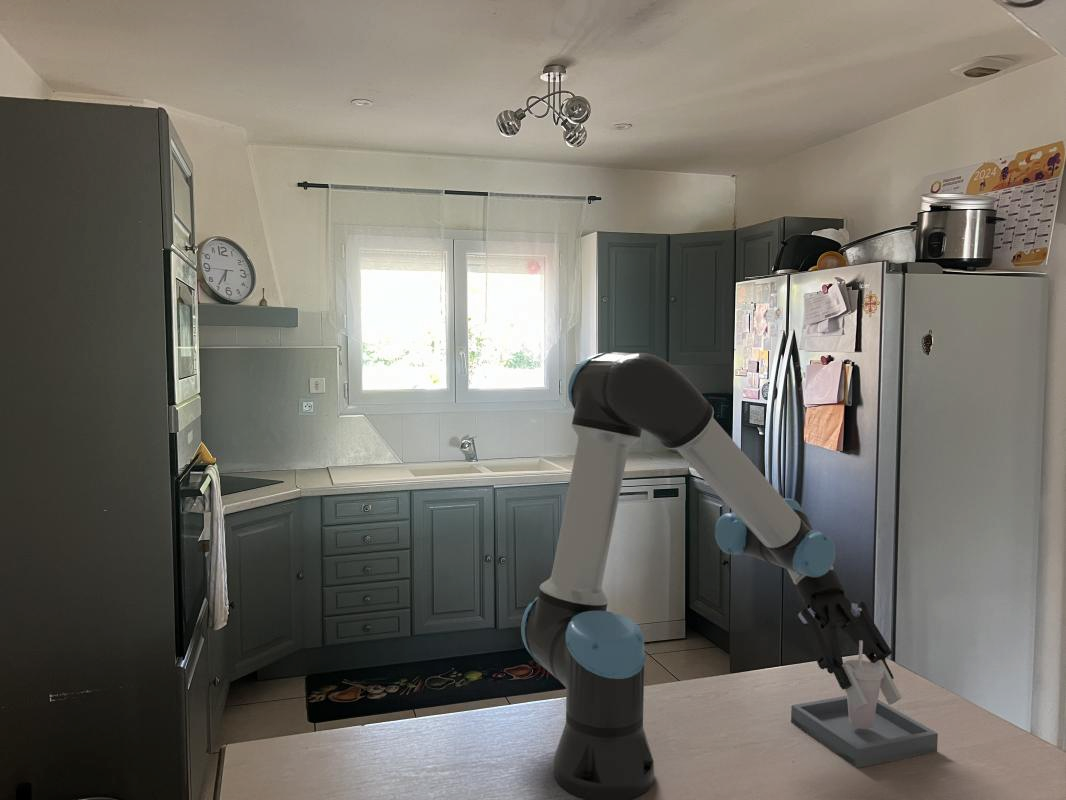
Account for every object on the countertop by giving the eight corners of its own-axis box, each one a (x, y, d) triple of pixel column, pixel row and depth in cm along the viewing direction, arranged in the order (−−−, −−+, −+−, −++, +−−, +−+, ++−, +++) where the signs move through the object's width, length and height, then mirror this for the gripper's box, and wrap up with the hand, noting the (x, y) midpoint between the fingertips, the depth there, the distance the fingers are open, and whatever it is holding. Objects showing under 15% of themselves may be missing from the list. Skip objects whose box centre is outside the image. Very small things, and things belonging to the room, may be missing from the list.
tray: (857, 768, 122) (858, 749, 122) (791, 722, 137) (791, 705, 137) (937, 751, 127) (937, 733, 127) (864, 708, 143) (865, 692, 142)
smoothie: (852, 711, 137) (855, 632, 136) (889, 724, 132) (892, 642, 131) (833, 721, 133) (836, 640, 132) (870, 736, 128) (873, 652, 127)
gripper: (846, 583, 149) (911, 704, 134) (760, 592, 142) (818, 721, 128) (868, 563, 143) (938, 687, 129) (779, 571, 137) (842, 703, 123)
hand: (878, 704), depth 129 cm, fingers closed on smoothie, 6 cm apart
